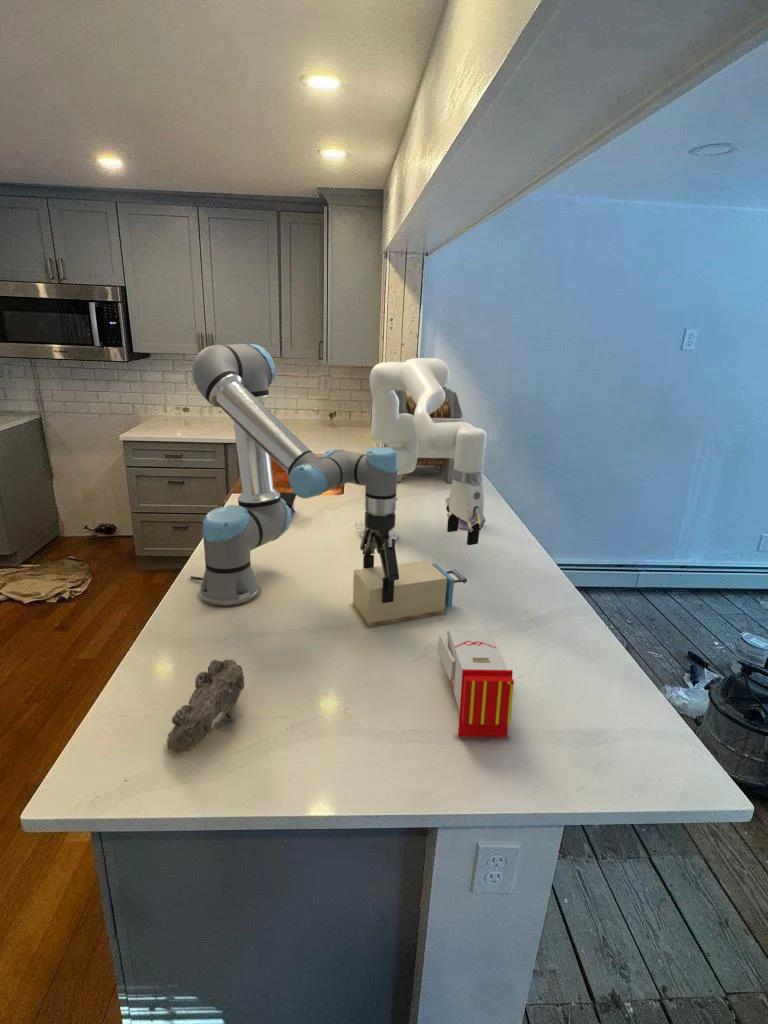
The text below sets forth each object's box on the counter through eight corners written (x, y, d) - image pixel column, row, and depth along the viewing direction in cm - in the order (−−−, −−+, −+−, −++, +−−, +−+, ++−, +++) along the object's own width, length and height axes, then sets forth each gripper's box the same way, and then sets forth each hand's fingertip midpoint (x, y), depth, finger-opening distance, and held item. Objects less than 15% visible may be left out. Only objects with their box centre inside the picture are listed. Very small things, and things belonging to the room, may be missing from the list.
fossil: (192, 660, 117) (244, 628, 112) (224, 691, 120) (276, 661, 115) (142, 746, 98) (202, 712, 93) (182, 779, 101) (242, 748, 96)
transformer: (382, 463, 289) (386, 382, 275) (445, 464, 293) (451, 384, 279) (390, 482, 257) (394, 392, 243) (460, 483, 261) (468, 394, 247)
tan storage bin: (424, 593, 159) (427, 559, 155) (444, 613, 149) (447, 578, 145) (352, 604, 151) (353, 569, 147) (367, 626, 141) (369, 589, 137)
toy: (488, 613, 130) (523, 677, 101) (484, 667, 133) (517, 744, 104) (435, 612, 130) (455, 676, 101) (432, 666, 133) (451, 743, 103)
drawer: (450, 587, 161) (452, 560, 158) (468, 604, 152) (471, 576, 149) (367, 600, 151) (368, 572, 149) (381, 619, 142) (382, 590, 140)
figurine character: (292, 527, 205) (297, 509, 218) (292, 508, 201) (297, 491, 215) (273, 526, 205) (280, 508, 218) (273, 507, 201) (279, 490, 215)
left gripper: (416, 527, 129) (411, 610, 136) (375, 495, 150) (373, 567, 157) (385, 531, 126) (382, 615, 133) (349, 497, 148) (348, 571, 155)
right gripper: (499, 484, 140) (492, 547, 146) (461, 466, 155) (456, 525, 161) (474, 486, 137) (468, 551, 143) (438, 468, 152) (433, 528, 158)
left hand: (377, 589), depth 145 cm, fingers open, 13 cm apart
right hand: (462, 537), depth 152 cm, fingers open, 9 cm apart
